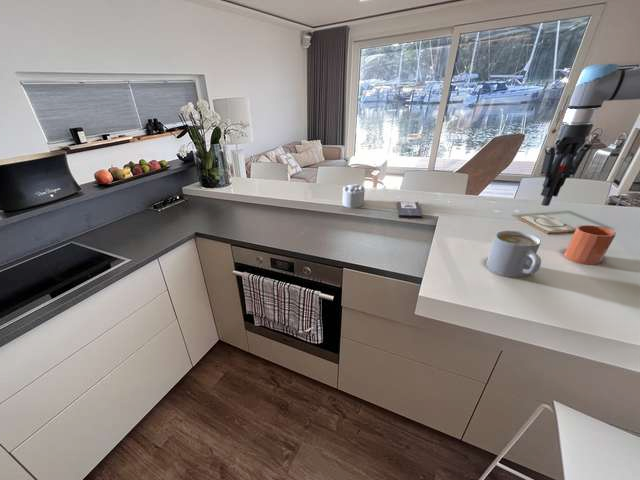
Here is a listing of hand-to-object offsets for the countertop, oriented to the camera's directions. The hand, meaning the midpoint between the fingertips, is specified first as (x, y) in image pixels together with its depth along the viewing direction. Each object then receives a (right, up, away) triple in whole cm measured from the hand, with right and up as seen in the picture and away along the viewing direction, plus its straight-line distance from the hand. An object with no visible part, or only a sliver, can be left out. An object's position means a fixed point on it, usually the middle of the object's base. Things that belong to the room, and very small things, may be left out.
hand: (548, 195), depth 103 cm
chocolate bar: (-38, 0, +27) cm, 47 cm away
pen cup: (-6, -23, -17) cm, 30 cm away
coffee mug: (-30, -27, -20) cm, 46 cm away
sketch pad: (+7, -10, +4) cm, 12 cm away
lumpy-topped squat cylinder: (-60, +6, +41) cm, 73 cm away
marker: (0, -3, +2) cm, 3 cm away
